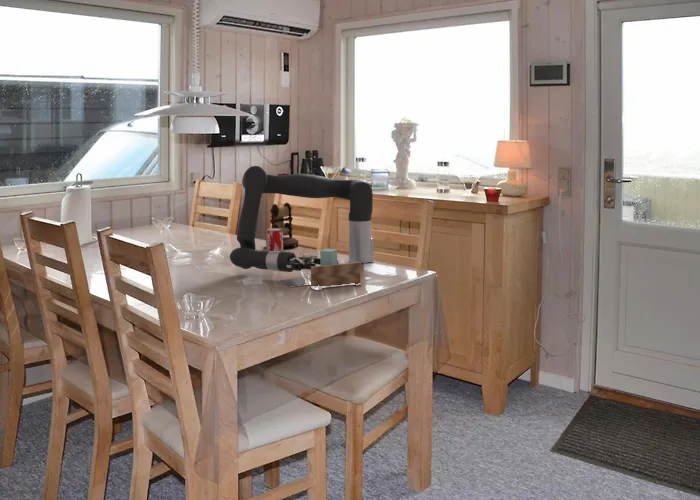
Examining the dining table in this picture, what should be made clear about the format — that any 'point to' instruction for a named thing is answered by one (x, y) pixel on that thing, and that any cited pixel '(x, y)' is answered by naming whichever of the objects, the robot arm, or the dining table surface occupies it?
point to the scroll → (278, 222)
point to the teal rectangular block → (328, 256)
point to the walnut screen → (335, 274)
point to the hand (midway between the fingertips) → (320, 264)
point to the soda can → (274, 239)
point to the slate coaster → (293, 282)
